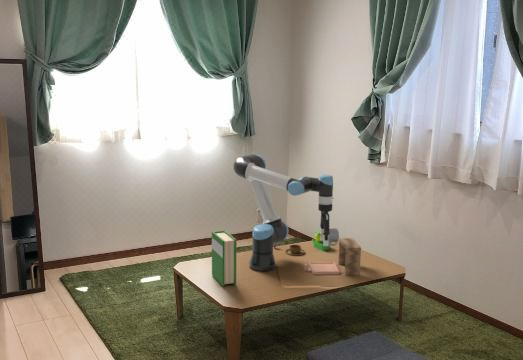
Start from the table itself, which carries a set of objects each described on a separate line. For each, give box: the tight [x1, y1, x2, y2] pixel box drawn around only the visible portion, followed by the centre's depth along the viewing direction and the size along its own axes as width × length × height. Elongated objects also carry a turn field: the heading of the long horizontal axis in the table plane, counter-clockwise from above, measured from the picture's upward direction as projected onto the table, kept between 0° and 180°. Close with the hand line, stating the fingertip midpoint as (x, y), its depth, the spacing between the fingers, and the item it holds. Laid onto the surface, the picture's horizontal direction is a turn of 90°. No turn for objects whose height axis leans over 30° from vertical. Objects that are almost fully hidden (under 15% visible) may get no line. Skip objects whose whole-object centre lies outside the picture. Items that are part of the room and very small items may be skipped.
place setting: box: [273, 244, 306, 257], centre depth 320 cm, size 18×20×6 cm
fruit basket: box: [311, 232, 333, 252], centre depth 325 cm, size 11×9×11 cm
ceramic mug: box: [322, 228, 340, 247], centre depth 283 cm, size 11×8×8 cm
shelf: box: [337, 237, 362, 276], centre depth 288 cm, size 8×18×16 cm, turn 4°
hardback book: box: [211, 230, 237, 287], centre depth 270 cm, size 18×7×24 cm, turn 23°
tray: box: [303, 262, 341, 275], centre depth 288 cm, size 18×15×3 cm
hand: (324, 243), depth 284 cm, fingers closed on ceramic mug, 9 cm apart
